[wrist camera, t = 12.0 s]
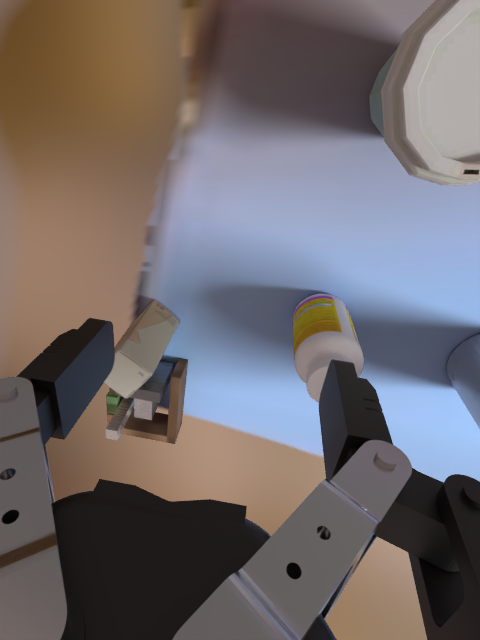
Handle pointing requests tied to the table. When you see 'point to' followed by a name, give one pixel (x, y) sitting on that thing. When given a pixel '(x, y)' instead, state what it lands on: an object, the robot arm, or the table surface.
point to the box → (141, 349)
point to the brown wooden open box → (160, 424)
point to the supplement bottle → (323, 339)
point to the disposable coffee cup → (434, 95)
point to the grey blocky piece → (141, 400)
